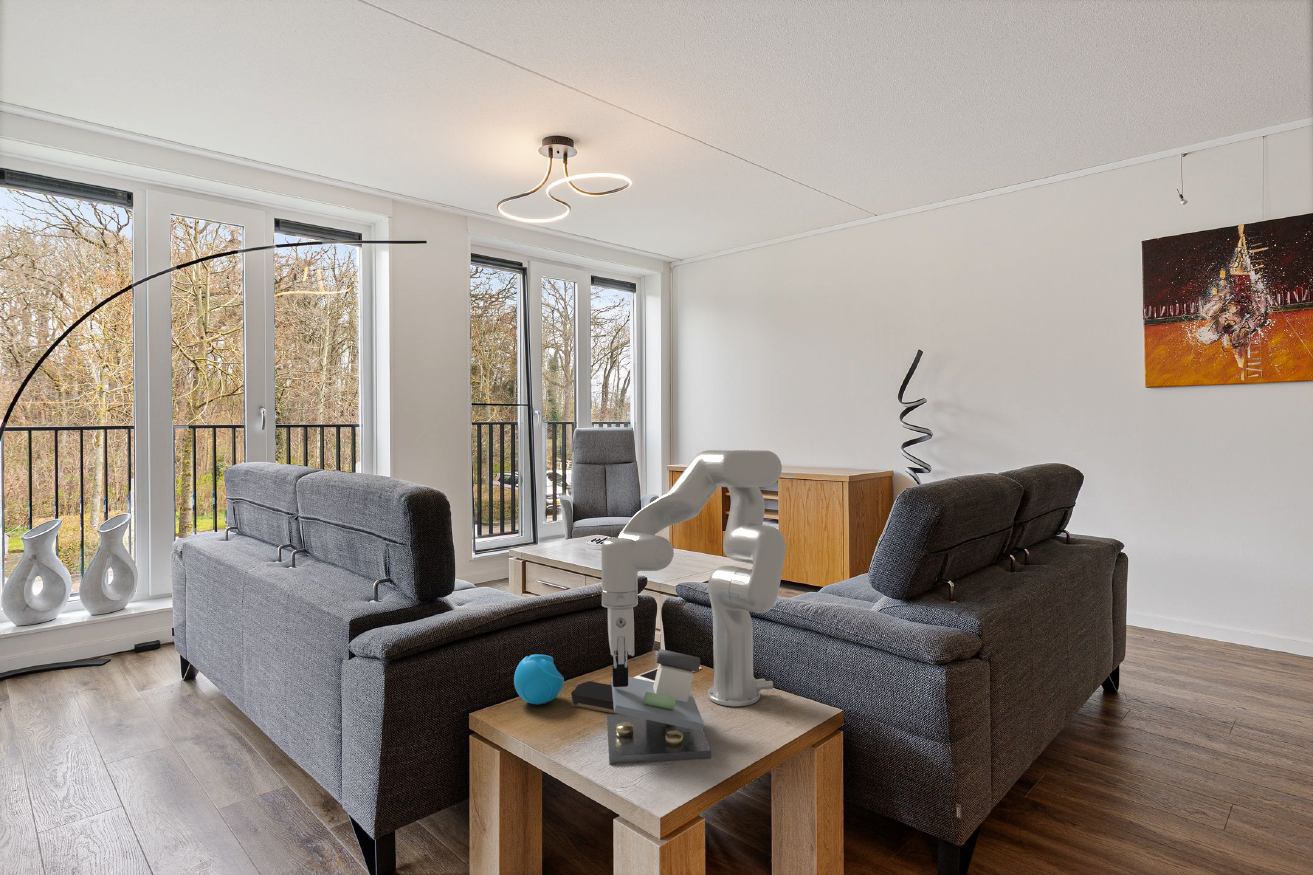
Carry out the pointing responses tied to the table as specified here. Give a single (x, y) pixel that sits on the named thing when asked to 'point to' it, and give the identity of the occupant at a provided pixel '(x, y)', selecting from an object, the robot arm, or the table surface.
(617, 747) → the levelling stand
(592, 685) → the black sponge
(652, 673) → the cell phone
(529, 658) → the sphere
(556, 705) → the table surface
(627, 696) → the plate
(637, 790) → the table surface
